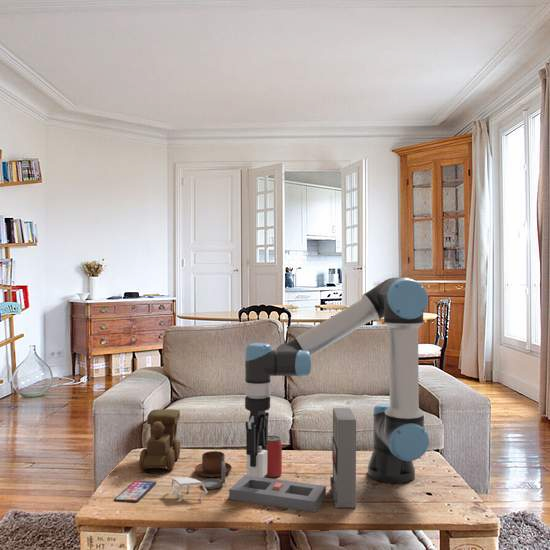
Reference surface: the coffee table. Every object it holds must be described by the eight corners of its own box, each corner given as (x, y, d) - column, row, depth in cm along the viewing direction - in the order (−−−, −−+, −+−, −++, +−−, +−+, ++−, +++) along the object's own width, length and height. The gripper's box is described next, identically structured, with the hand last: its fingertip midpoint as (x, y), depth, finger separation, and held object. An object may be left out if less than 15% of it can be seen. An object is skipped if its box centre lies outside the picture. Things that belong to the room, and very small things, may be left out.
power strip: (325, 495, 167) (325, 483, 167) (315, 512, 156) (315, 498, 156) (244, 484, 176) (244, 472, 176) (229, 499, 164) (229, 486, 164)
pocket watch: (196, 485, 175) (197, 453, 175) (219, 478, 180) (219, 447, 180) (211, 493, 169) (211, 460, 169) (234, 486, 174) (234, 454, 174)
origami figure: (164, 502, 162) (164, 485, 162) (172, 491, 171) (172, 475, 170) (205, 504, 161) (205, 487, 161) (211, 492, 170) (211, 476, 169)
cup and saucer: (196, 467, 191) (196, 449, 191) (232, 466, 192) (232, 448, 192) (193, 480, 179) (193, 461, 179) (230, 480, 180) (230, 460, 180)
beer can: (282, 471, 187) (282, 435, 187) (280, 478, 181) (280, 441, 181) (262, 470, 188) (263, 434, 188) (260, 477, 182) (260, 440, 181)
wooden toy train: (150, 454, 204) (151, 408, 204) (182, 454, 204) (182, 408, 204) (137, 474, 184) (137, 424, 184) (171, 475, 184) (172, 424, 184)
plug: (267, 473, 169) (267, 445, 169) (262, 478, 165) (262, 449, 165) (251, 471, 171) (251, 443, 170) (246, 475, 167) (247, 447, 167)
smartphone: (112, 499, 163) (134, 480, 178) (113, 502, 163) (134, 483, 178) (137, 500, 162) (156, 481, 177) (137, 504, 162) (156, 484, 177)
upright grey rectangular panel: (329, 489, 172) (330, 407, 172) (349, 489, 172) (350, 407, 172) (334, 508, 159) (334, 420, 158) (356, 508, 159) (356, 420, 158)
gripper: (256, 389, 177) (255, 463, 177) (234, 400, 161) (234, 482, 161) (278, 390, 174) (278, 466, 175) (259, 403, 158) (258, 485, 159)
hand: (256, 473), depth 168 cm, fingers closed on plug, 4 cm apart
